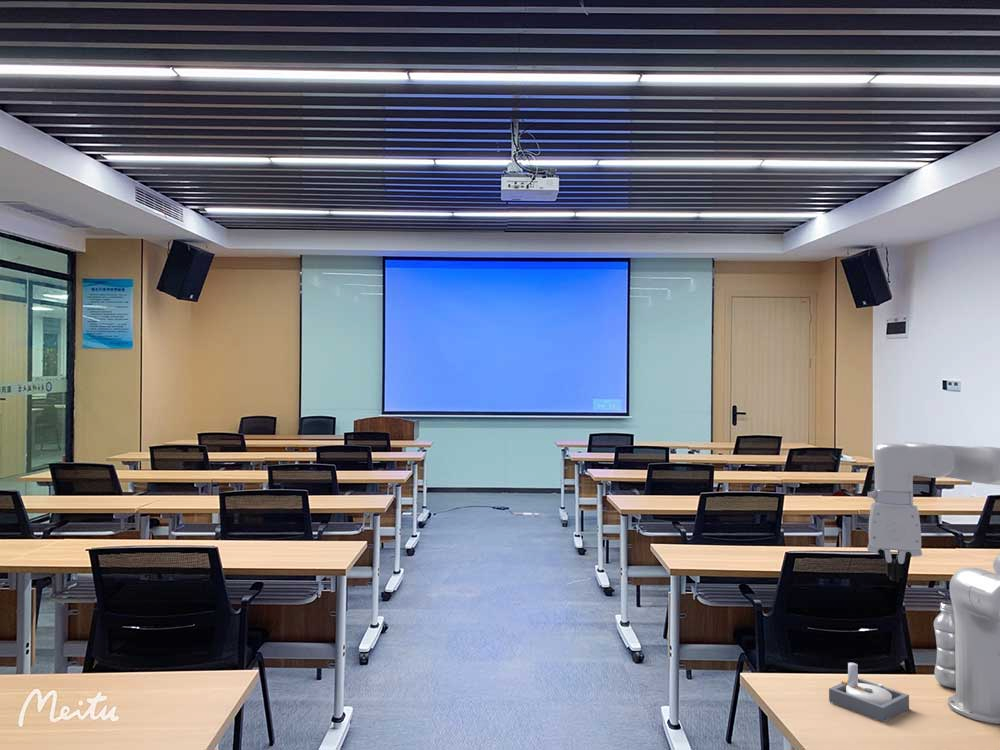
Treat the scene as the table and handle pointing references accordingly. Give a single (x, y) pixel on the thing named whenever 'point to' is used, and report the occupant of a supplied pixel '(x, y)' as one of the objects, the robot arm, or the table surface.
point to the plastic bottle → (945, 646)
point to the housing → (866, 707)
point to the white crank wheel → (865, 688)
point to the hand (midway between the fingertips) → (894, 579)
